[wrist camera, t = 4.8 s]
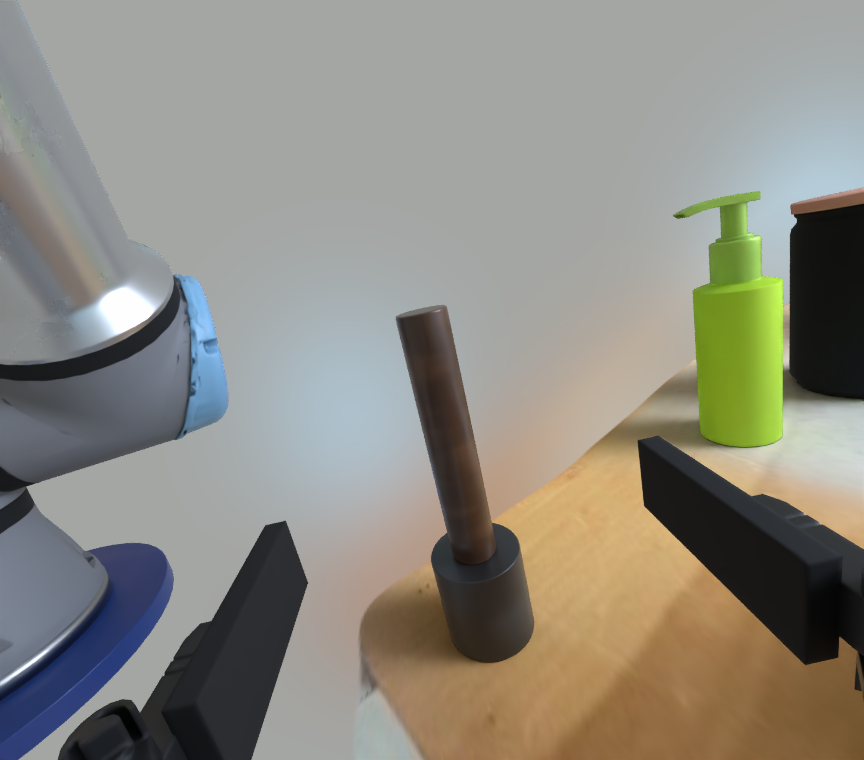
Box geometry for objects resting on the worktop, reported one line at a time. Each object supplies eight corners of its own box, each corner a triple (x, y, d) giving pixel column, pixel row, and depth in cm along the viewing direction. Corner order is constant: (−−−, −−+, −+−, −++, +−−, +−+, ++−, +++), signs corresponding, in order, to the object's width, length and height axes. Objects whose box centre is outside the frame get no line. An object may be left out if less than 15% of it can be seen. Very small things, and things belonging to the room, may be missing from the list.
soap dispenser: (677, 424, 41) (663, 210, 36) (758, 414, 39) (755, 189, 34) (704, 452, 35) (692, 204, 30) (799, 442, 34) (803, 178, 28)
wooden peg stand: (454, 671, 21) (364, 329, 17) (445, 600, 26) (373, 317, 21) (546, 650, 21) (481, 302, 17) (521, 583, 26) (464, 296, 21)
